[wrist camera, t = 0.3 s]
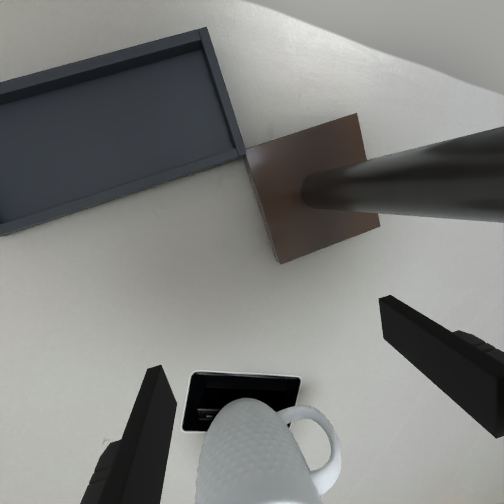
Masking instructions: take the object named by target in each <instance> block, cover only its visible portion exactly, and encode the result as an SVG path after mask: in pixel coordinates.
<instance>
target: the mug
mask: <svg viewBox="0 0 504 504" xmlns="http://www.w3.org/2000/svg"><path fill="white" fill-rule="evenodd" d="M299 419H311V420H313V421H315V422H317V423H318V424H319V425H320V426H321V427H322V428H323V429H324V431H325V432H326V434H327V436H328V438H329V441H330V445H331V456H330V459H329V461H328V462H327V463H326V464H325V465H324V466H323V467H322V468H320V469H317V470H313V471H310V469H309V467H308V465H307V463H306V461H305V458H304V456H303V454H302V452H301V450H300V448H299V446H298V443H297V442H296V440H295V439H294V436H293V434H292V433H291V432H290V430H289V428H288V427H287V425H286V424H288V423H290V422H292V421H295V420H299ZM341 464H342V455H341V447H340V443H339V439H338V437H337V434H336V432H335V430H334V428H333V426H332V425H331V423H330V422H329V420H328V419H327V418H326V417H325V416H324V415H323V414H322V413H321V412H320V411H319V410H317V409H315V408H313V407H311V406H306V405H299V406H293V407H289V408H286V409H283V410H281V411H278V412H275V411H274V410H273V409H272V408H270V407H269V406H268V405H266V404H265V403H263V402H261V401H259V400H257V399H253V398H241V399H237V400H234V401H232V402H230V403H228V404H227V405H225V406H224V407H223V408H222V409H221V410H220V411H219V413H218V414H217V416H216V417H215V418H214V420H213V422H212V423H211V425H210V427H209V429H208V431H207V435H206V437H205V440H204V443H203V446H202V451H201V454H200V459H199V465H198V469H197V479H196V493H195V504H322V501H321V498H320V495H322V494H324V493H325V492H326V491H328V490H329V489H330V488H331V487H332V486H333V485H334V483H335V482H336V480H337V478H338V476H339V473H340V470H341Z"/></svg>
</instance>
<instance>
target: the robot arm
mask: <svg viewBox="0 0 504 504" xmlns="http://www.w3.org/2000/svg"><path fill="white" fill-rule="evenodd" d="M379 306H380V314H381V322H382V330H383V338H384V339H385V340H386V341H387V342H388V343H389V344H390V345H392V346H393V347H394V348H395V349H396V350H397V351H398V352H399V353H401V354H402V355H403V356H404V357H405V358H406V359H407V360H408V361H410V362H411V363H412V364H413V365H414V366H415V367H416V368H417V369H419V370H420V371H421V372H422V373H423V374H424V375H425V376H426V377H428V378H429V379H430V380H431V381H432V382H433V383H434V384H435V385H437V386H438V387H439V388H440V389H441V390H442V391H443V392H444V393H446V394H447V395H448V396H449V397H450V398H451V399H452V400H453V401H455V402H456V403H457V404H458V405H459V406H460V407H461V408H462V409H464V410H465V411H466V412H467V413H468V414H469V415H470V416H471V417H473V418H474V419H475V420H476V421H477V422H478V423H479V424H480V425H482V426H483V427H484V428H485V429H486V430H487V431H488V432H489V433H491V434H492V435H493V436H494V437H495V438H499V437H502V436H504V352H502V351H501V350H499V349H496V348H495V347H493V346H492V345H490V344H488V343H487V344H486V343H485V341H483V340H481V339H479V338H478V337H476V336H474V335H472V334H469V333H466V332H462V331H459V330H458V331H455V332H451V331H449V330H447V329H446V328H444V327H443V326H441V325H439V324H438V323H436V322H434V321H433V320H431V319H429V318H428V317H426V316H424V315H423V314H421V313H419V312H418V311H416V310H415V309H413V308H411V307H410V306H408V305H406V304H405V303H403V302H401V301H400V300H398V299H396V298H395V297H393V296H391V295H389V296H386V297H382V298H379ZM176 407H177V402H176V400H175V397H174V395H173V392H172V390H171V387H170V385H169V383H168V380H167V378H166V375H165V373H164V370H163V368H162V365H159V366H155V367H152V368H149V369H147V371H146V374H145V377H144V380H143V382H142V385H141V388H140V390H139V393H138V396H137V398H136V401H135V404H134V407H133V409H132V412H131V415H130V417H129V420H128V423H127V425H126V428H125V431H124V434H123V436H122V439H121V440H119V441H115V442H112V443H110V444H109V445H108V447H107V448H106V450H105V451H104V452H103V454H102V455H101V456H100V458H99V461H98V463H97V466H96V468H95V470H94V473H93V475H92V477H91V480H90V482H89V485H88V487H87V489H86V491H85V494H84V496H83V498H82V501H81V503H80V504H160V500H161V494H162V488H163V482H164V477H165V471H166V465H167V459H168V453H169V448H170V442H171V436H172V430H173V425H174V419H175V413H176Z"/></svg>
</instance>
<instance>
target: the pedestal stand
mask: <svg viewBox="0 0 504 504" xmlns="http://www.w3.org/2000/svg"><path fill="white" fill-rule="evenodd" d="M245 150H246V153H247V154H246V155H245V156H244V157H243V158H244V161H245V164H246V167H247V170H248V173H249V176H250V180H251V183H252V186H253V189H254V192H255V195H256V198H257V201H258V205H259V208H260V211H261V214H262V217H263V220H264V223H265V226H266V230H267V233H268V236H269V239H270V242H271V245H272V248H273V251H274V255H275V258H276V261H277V262H278V263H280V264H283V263H285V262H288V261H291V260H293V259H296V258H299V257H301V256H304V255H306V254H309V253H312V252H314V251H317V250H320V249H322V248H325V247H327V246H330V245H333V244H335V243H338V242H341V241H343V240H346V239H349V238H351V237H354V236H356V235H359V234H362V233H364V232H367V231H370V230H372V229H375V228H377V227H380V222H379V217H378V213H380V214H393V215H407V216H420V217H434V218H447V219H461V220H474V221H487V222H501V223H504V126H503V127H499V128H495V129H491V130H487V131H483V132H479V133H475V134H471V135H467V136H463V137H459V138H455V139H451V140H447V141H443V142H439V143H435V144H431V145H426V146H422V147H418V148H414V149H410V150H406V151H402V152H398V153H394V154H390V155H386V156H382V157H378V158H374V159H370V160H367V159H366V155H365V150H364V145H363V140H362V135H361V130H360V126H359V121H358V116H357V113H355V114H352V115H349V116H346V117H343V118H340V119H337V120H334V121H330V122H327V123H324V124H321V125H318V126H315V127H312V128H309V129H306V130H303V131H300V132H297V133H294V134H291V135H288V136H284V137H281V138H278V139H275V140H272V141H269V142H266V143H263V144H260V145H257V146H254V147H251V148H248V149H245Z"/></svg>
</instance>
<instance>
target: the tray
mask: <svg viewBox="0 0 504 504" xmlns="http://www.w3.org/2000/svg"><path fill="white" fill-rule="evenodd" d="M246 154H247V153H246V150H245V147H244V143H243V140H242V137H241V134H240V131H239V128H238V124H237V121H236V118H235V115H234V112H233V109H232V105H231V102H230V99H229V96H228V93H227V90H226V86H225V83H224V80H223V77H222V74H221V71H220V67H219V64H218V61H217V58H216V55H215V52H214V48H213V45H212V42H211V39H210V36H209V33H208V29H207V27H204V28H201V29H197V30H193V31H189V32H185V33H182V34H178V35H174V36H171V37H167V38H163V39H159V40H156V41H152V42H148V43H145V44H141V45H137V46H134V47H130V48H126V49H122V50H119V51H115V52H111V53H108V54H104V55H100V56H96V57H93V58H89V59H85V60H82V61H78V62H74V63H70V64H67V65H63V66H59V67H56V68H52V69H48V70H45V71H41V72H37V73H33V74H30V75H26V76H22V77H19V78H15V79H11V80H7V81H4V82H0V237H2V236H6V235H9V234H12V233H15V232H18V231H21V230H24V229H27V228H30V227H33V226H36V225H39V224H42V223H45V222H48V221H52V220H55V219H58V218H61V217H64V216H67V215H70V214H73V213H76V212H79V211H82V210H85V209H88V208H91V207H94V206H97V205H100V204H103V203H106V202H109V201H112V200H115V199H118V198H121V197H124V196H128V195H131V194H134V193H137V192H140V191H143V190H146V189H149V188H152V187H155V186H158V185H161V184H164V183H167V182H170V181H173V180H176V179H179V178H182V177H185V176H188V175H191V174H194V173H197V172H200V171H204V170H207V169H210V168H213V167H216V166H219V165H222V164H225V163H228V162H231V161H234V160H237V159H240V158H243V157H244V156H245V155H246Z"/></svg>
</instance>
